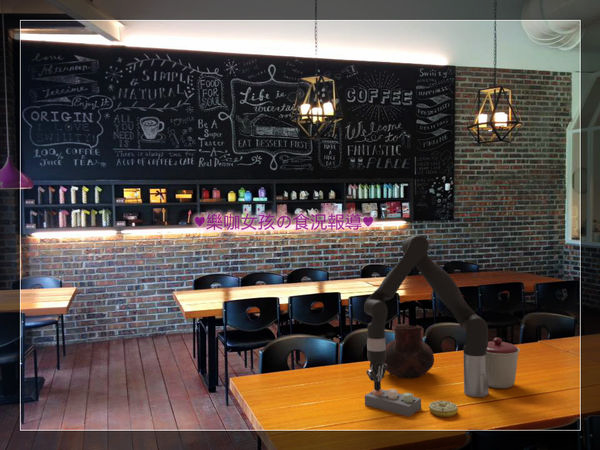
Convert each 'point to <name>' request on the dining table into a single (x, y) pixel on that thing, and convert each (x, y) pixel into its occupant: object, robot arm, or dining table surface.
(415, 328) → the jug
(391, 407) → the block
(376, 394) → the terracotta button
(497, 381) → the canister
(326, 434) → the dining table surface
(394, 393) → the ivory button
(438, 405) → the decorated donut
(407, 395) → the sage button
